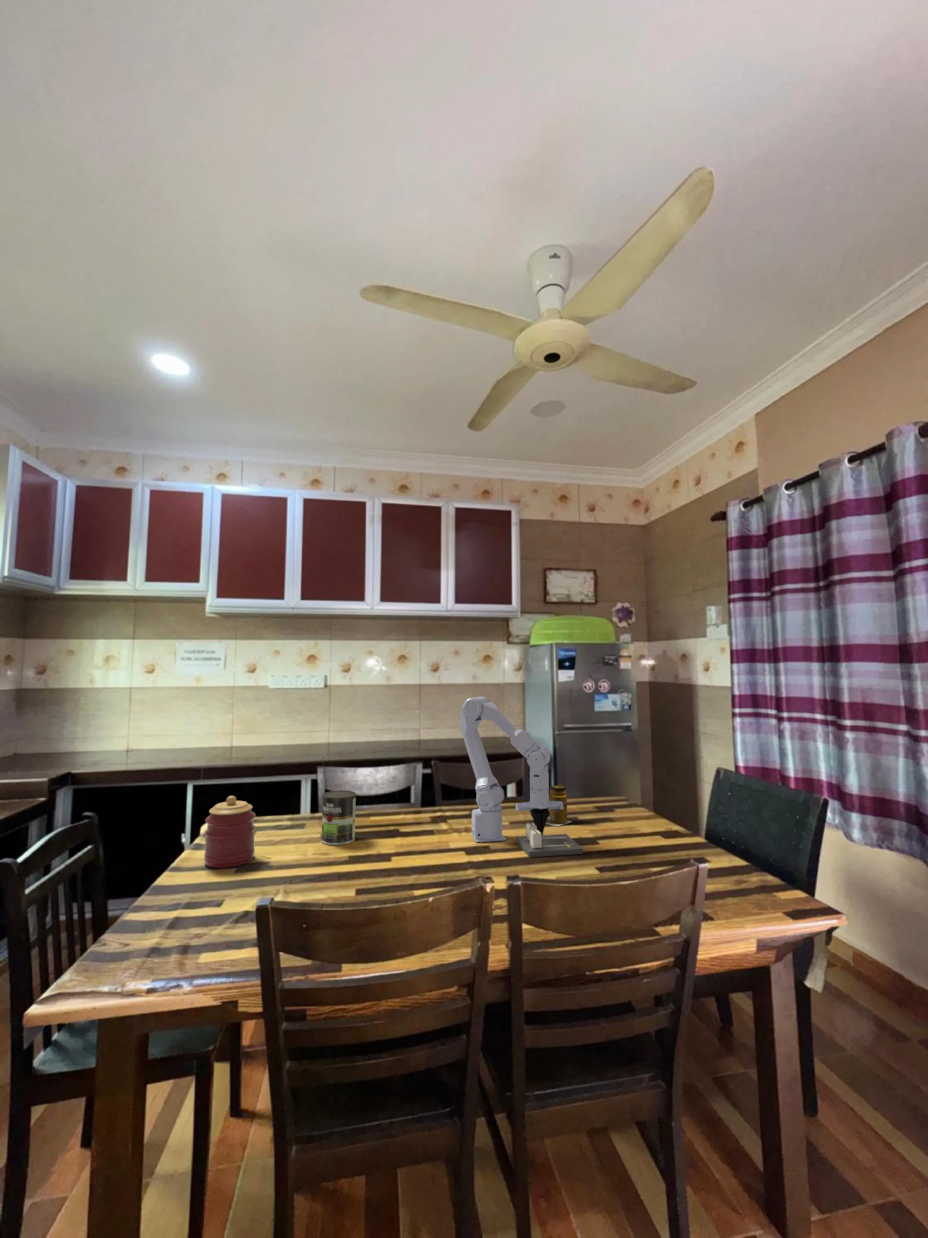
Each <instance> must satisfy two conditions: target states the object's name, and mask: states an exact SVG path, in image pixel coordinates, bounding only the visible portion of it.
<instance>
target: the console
mask: <svg viewBox="0 0 928 1238" xmlns="http://www.w3.org/2000/svg"><path fill="white" fill-rule="evenodd" d="M515 841H516V843H517V844H518V845H519V846H520V848H521V849H522V851H524V853H525V854H526V856H528V858H538V857H539V858H540V857H553V856H567V855H568V856H569V855H570V856H572V855H583V854H584V847H582V846H581V845H580V844H579V843H577V842H576V841H575V840H574V839H573V838H572V837H571V836H569V835H568V834H567V833H558V834H557V833H556V834H555V833H554V834H543V835H541V846H542V848H533V847H532V846H531V845H530V840H528V839H527V837H526V835H522V836H516V839H515Z"/></svg>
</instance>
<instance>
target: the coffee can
mask: <svg viewBox="0 0 928 1238" xmlns="http://www.w3.org/2000/svg"><path fill="white" fill-rule="evenodd" d="M321 796H322V810H321V811H322V813H321V815H322V816H321V817H322V820H321V821H322V822H321V823H322V824H321V843H322V844H324V845H327V846H342V845H343V846H344V845H348V844H350V843H354V842H355V840H356V802H357V801H356V799H357V798H356V796H357V792H355V791H351V790H332V791H331V790H330V791H328V792H327V791H326V792H324V793H322V795H321Z"/></svg>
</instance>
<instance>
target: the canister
mask: <svg viewBox="0 0 928 1238" xmlns="http://www.w3.org/2000/svg"><path fill="white" fill-rule="evenodd" d="M225 800H226V801H223V802H219V803H217V804H215V805H214V806H213V807H212V808H210V809H209V811H208V812H209V814H210V815H208V816H207V817H206V818H205V820H204V821H205V823H206V824H207V827H206V830H205V832H204V834H205V842H204V843H205V847H204V849H205V850H204V854H203V855H204V857H203V859H204V864H205V866H207V867H210V868H213V869H214V868H215V869H226V868H232V867H237V866H238V867H239V866H242V865H244V864H247V863H250V862H251V861H252V860H253V859H254V857H255V829H256V825H255V823H254V819H255V818H256V813H255V812H254V811H252V809H253V808H254V807H253V805H252V804H251V803H248V802H247V801H245V800H244V801H243V800H237V797H236V796H234V795H229V796H228V797H226V799H225Z"/></svg>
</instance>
